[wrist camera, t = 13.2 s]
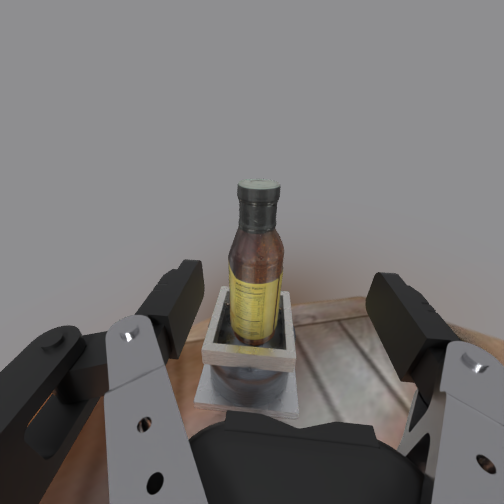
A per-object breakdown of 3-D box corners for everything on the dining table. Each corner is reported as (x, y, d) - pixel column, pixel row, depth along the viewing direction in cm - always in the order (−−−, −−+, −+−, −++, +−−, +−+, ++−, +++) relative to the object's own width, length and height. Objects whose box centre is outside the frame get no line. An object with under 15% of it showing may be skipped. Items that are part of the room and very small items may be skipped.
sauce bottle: (250, 307, 35) (256, 173, 25) (284, 328, 31) (307, 182, 22) (219, 332, 30) (213, 180, 21) (255, 360, 27) (268, 193, 17)
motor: (290, 343, 40) (300, 291, 35) (297, 419, 30) (312, 362, 24) (214, 336, 41) (211, 284, 35) (194, 408, 31) (185, 350, 25)
